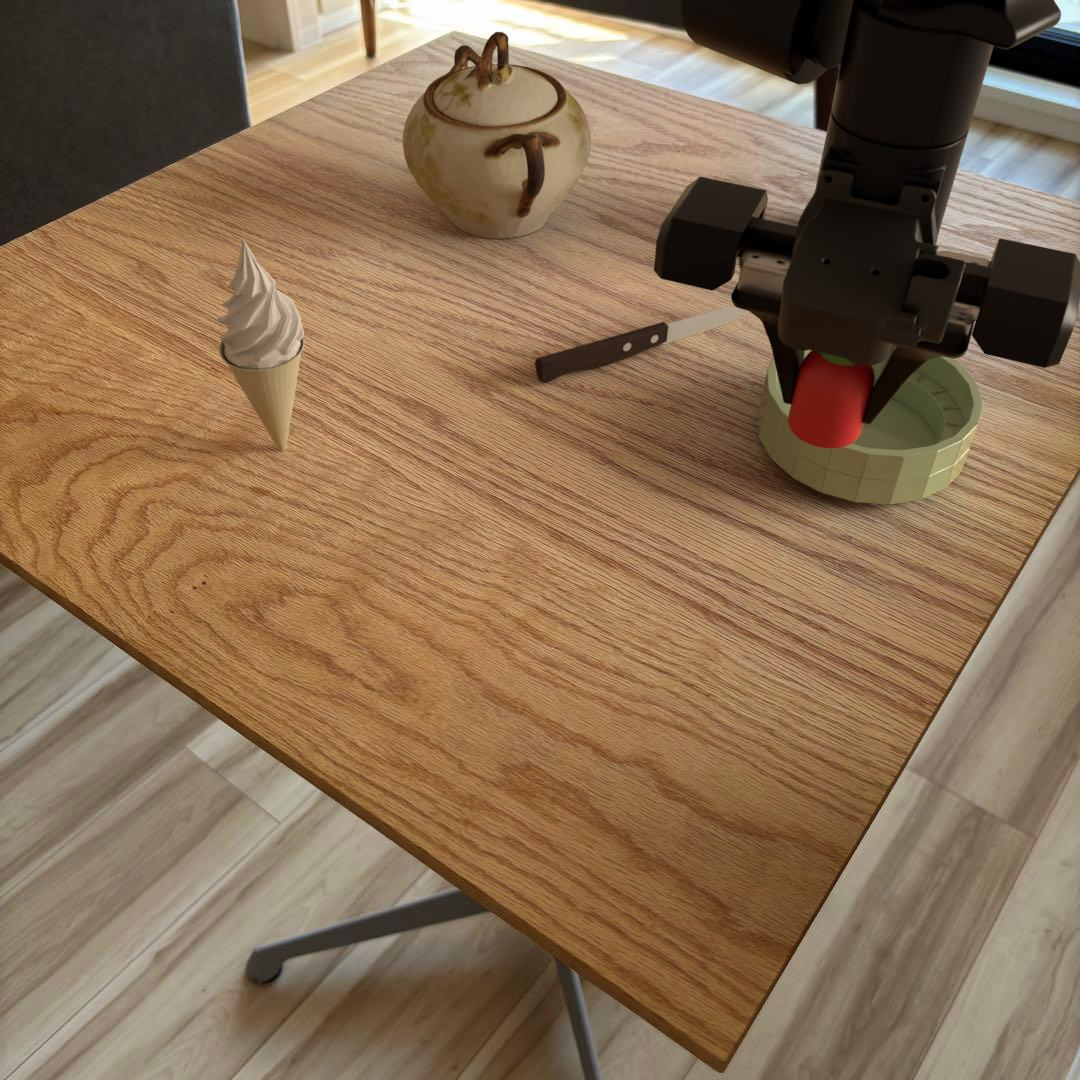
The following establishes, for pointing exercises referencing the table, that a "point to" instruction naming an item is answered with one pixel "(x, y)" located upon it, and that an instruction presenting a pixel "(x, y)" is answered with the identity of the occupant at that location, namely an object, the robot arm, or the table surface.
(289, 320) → the ice cream cone
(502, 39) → the sugar bowl
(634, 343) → the kitchen knife
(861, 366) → the sriracha sauce bottle
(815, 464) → the serving bowl
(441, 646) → the table surface
